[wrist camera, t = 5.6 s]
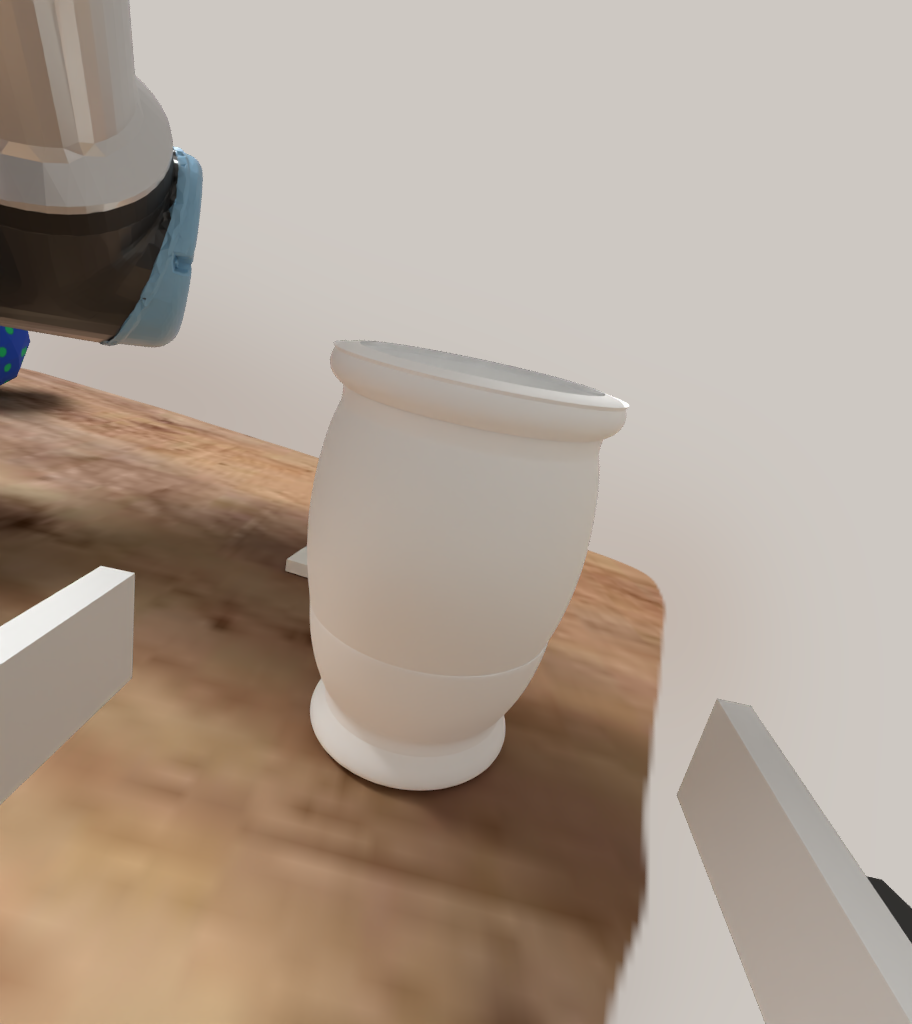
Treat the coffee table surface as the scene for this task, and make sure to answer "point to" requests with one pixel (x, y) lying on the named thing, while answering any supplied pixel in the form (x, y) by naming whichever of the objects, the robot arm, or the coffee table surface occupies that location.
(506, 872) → the coffee table surface
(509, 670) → the jar
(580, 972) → the coffee table surface
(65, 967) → the coffee table surface
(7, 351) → the mushroom
